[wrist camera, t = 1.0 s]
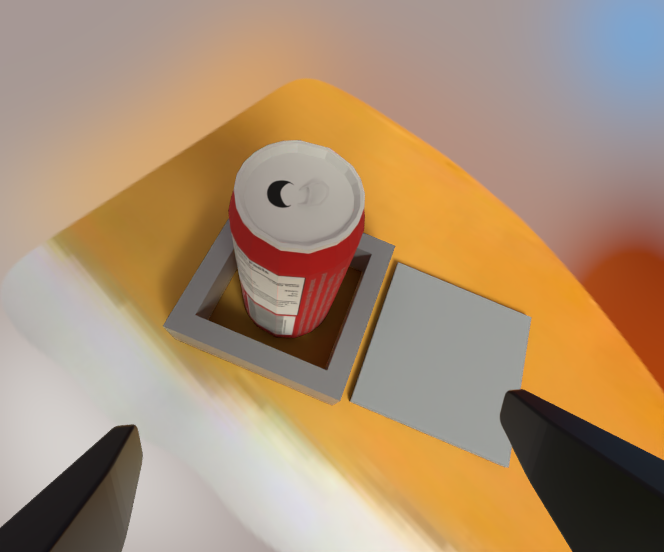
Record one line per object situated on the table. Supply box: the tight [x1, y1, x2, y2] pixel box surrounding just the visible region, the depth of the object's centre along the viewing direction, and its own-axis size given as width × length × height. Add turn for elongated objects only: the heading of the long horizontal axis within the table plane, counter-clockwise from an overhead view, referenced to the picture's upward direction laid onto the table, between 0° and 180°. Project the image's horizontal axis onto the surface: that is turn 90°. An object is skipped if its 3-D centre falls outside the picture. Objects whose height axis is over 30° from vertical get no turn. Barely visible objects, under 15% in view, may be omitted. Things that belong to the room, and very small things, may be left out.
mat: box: [350, 262, 531, 468], centre depth 25 cm, size 10×10×1 cm
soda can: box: [228, 140, 365, 338], centre depth 19 cm, size 6×6×12 cm
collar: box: [163, 219, 395, 405], centre depth 23 cm, size 10×10×3 cm
